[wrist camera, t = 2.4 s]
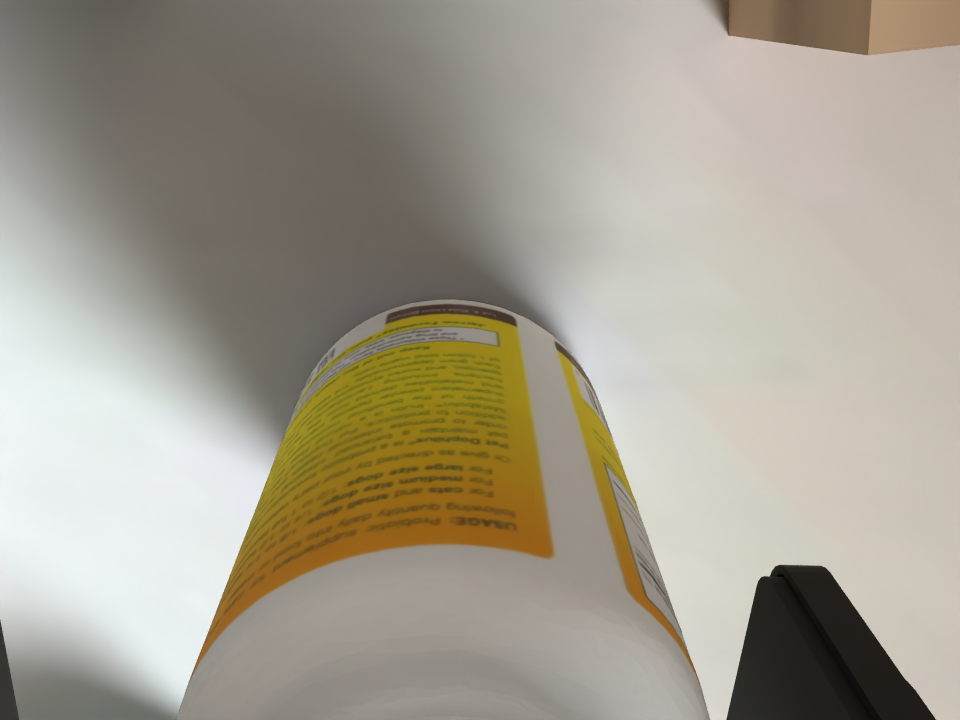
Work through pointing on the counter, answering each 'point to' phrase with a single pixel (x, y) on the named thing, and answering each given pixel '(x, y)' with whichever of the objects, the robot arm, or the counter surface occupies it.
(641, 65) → the counter surface
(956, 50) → the counter surface
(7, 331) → the counter surface
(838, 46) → the walnut block
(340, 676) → the supplement bottle
